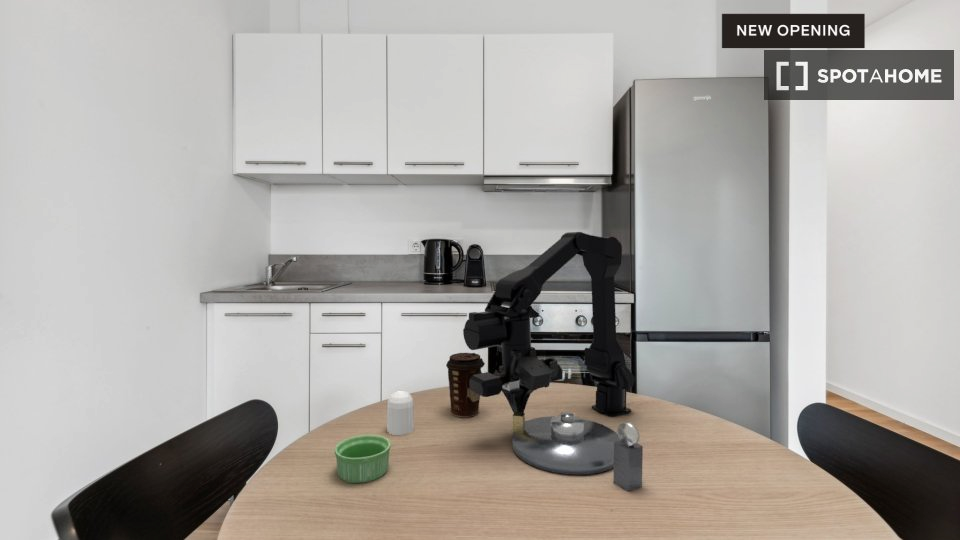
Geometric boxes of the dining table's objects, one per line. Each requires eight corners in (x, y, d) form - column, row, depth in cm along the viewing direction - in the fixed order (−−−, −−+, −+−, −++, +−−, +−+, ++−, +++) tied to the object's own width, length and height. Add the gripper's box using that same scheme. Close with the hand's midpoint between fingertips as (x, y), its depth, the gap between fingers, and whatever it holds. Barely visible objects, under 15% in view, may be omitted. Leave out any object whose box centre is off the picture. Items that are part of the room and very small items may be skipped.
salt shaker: (415, 424, 92) (415, 387, 92) (412, 435, 87) (411, 395, 87) (389, 424, 92) (389, 387, 92) (385, 435, 87) (384, 395, 87)
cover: (553, 428, 85) (553, 407, 85) (584, 432, 83) (585, 410, 83) (548, 441, 79) (548, 418, 79) (582, 446, 77) (582, 422, 77)
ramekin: (400, 463, 76) (400, 438, 76) (371, 490, 67) (371, 462, 67) (356, 455, 79) (356, 431, 78) (323, 480, 70) (322, 453, 70)
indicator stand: (625, 477, 71) (626, 417, 71) (642, 487, 68) (644, 424, 68) (612, 481, 70) (613, 421, 69) (629, 492, 67) (630, 428, 66)
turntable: (523, 421, 94) (523, 397, 94) (621, 432, 88) (622, 407, 88) (500, 464, 75) (500, 434, 75) (624, 482, 69) (624, 450, 69)
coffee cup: (486, 407, 103) (486, 352, 102) (482, 420, 95) (483, 360, 94) (449, 405, 104) (449, 351, 103) (443, 418, 96) (443, 359, 95)
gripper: (497, 358, 74) (500, 448, 75) (580, 342, 83) (582, 422, 84) (466, 346, 84) (469, 425, 85) (544, 333, 93) (546, 405, 94)
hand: (518, 419), depth 87 cm, fingers closed
